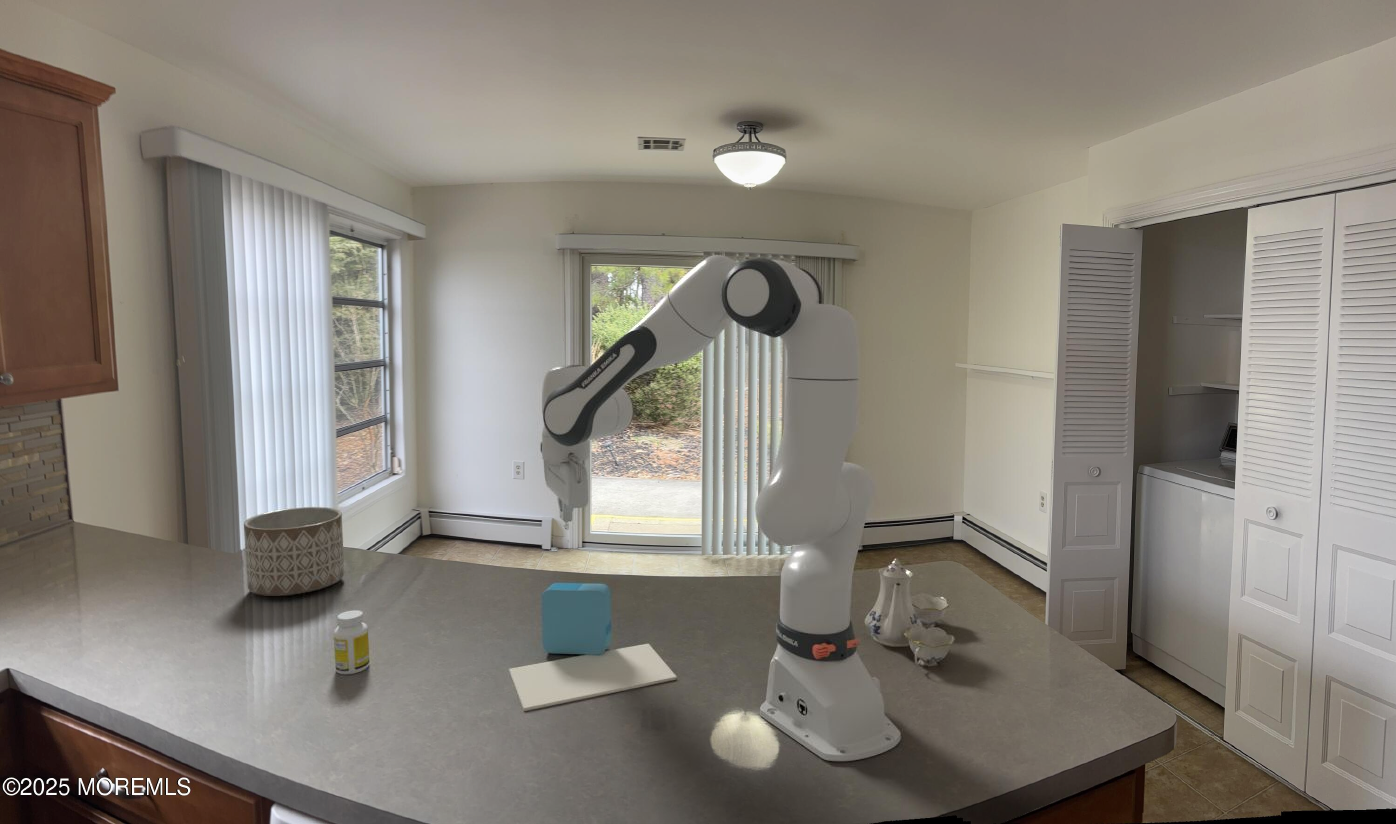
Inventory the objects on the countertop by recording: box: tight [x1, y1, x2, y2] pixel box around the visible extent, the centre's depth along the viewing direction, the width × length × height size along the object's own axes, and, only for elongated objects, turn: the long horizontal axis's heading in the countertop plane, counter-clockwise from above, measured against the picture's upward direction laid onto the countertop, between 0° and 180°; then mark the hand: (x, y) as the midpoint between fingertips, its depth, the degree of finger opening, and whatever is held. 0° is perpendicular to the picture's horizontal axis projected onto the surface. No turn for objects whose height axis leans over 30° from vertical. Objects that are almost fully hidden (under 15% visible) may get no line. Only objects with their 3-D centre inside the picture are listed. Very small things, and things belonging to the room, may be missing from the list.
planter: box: [243, 506, 345, 597], centre depth 159 cm, size 19×19×16 cm
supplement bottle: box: [333, 609, 370, 675], centre depth 122 cm, size 5×5×10 cm
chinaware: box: [864, 558, 956, 668], centre depth 136 cm, size 28×17×17 cm, turn 168°
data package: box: [541, 582, 612, 655], centre depth 129 cm, size 12×4×12 cm, turn 83°
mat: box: [508, 643, 678, 712], centre depth 121 cm, size 14×26×1 cm, turn 114°
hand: (565, 520), depth 135 cm, fingers closed
